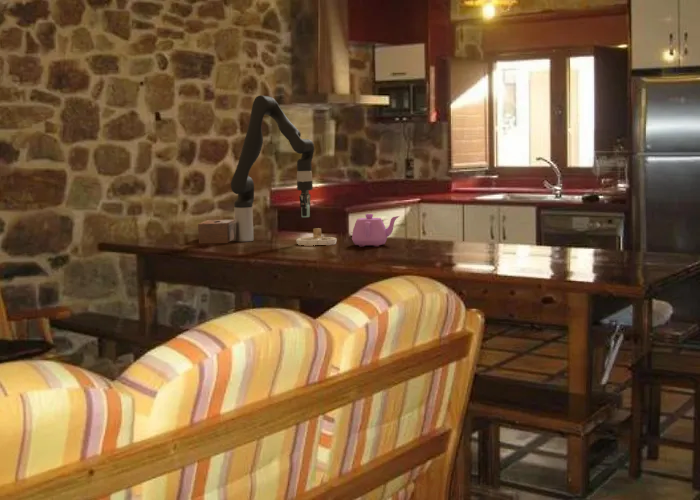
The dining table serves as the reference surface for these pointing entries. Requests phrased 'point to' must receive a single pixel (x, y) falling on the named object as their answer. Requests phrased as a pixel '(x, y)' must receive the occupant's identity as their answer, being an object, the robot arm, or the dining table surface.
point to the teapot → (371, 231)
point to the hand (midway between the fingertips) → (305, 215)
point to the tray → (316, 241)
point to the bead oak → (317, 233)
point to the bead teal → (307, 211)
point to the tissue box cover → (216, 231)
